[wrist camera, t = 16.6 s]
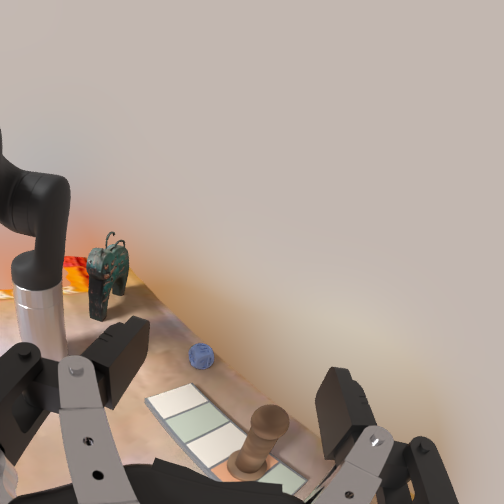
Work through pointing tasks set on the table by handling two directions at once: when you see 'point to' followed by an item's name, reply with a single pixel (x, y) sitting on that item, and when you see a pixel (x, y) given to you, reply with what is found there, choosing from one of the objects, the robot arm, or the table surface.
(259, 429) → the pawn
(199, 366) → the decorative dice
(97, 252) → the ceramic cat
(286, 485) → the game board
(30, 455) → the table surface
